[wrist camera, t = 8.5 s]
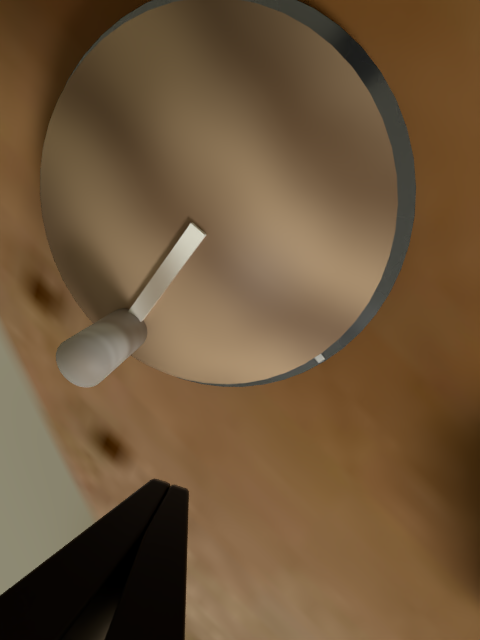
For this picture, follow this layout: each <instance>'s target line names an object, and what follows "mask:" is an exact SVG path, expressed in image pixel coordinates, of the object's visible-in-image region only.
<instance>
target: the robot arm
mask: <svg viewBox="0 0 480 640" xmlns="http://www.w3.org/2000/svg"><path fill="white" fill-rule="evenodd" d="M188 502H189V491H188V489H186V488H183V487H180V486H177V485H171V486H170V484H169V483H168V482H165V481H162V480H159V479H152V480H150V481H149V482H148V483H146V484H145V485H144V486H142V487H141V488H140V489H139V490H137V491H136V492H135V493H133V494H132V495H131V496H129V497H128V498H127V499H125V500H124V501H123V502H122V503H120V504H119V505H118V506H116V507H115V508H114V509H112V510H111V511H110V512H109V513H107V514H106V515H105V516H103V517H102V518H101V519H99V520H98V521H97V522H95V523H94V524H93V525H92V526H91V527H89V528H88V529H86V530H85V531H84V532H82V533H81V534H80V535H78V536H77V537H76V538H75V539H73V540H72V541H71V542H69V543H68V544H67V545H65V546H64V547H63V548H62V549H60V550H59V551H58V552H56V553H55V554H54V555H52V556H51V557H50V558H49V559H47V560H46V561H45V562H43V563H42V564H41V565H39V566H38V567H37V568H35V569H34V570H33V571H32V572H30V573H29V574H28V575H27V576H25V577H24V578H23V579H21V580H20V581H18V582H17V583H16V584H15V585H13V586H12V587H11V588H9V589H8V590H7V591H5V592H4V593H3V594H2V595H0V640H185V609H186V573H187V538H188Z"/></svg>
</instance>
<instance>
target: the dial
mask: <svg viewBox="0 0 480 640" xmlns="http://www.w3.org/2000/svg"><path fill="white" fill-rule="evenodd" d="M40 198H41V208H42V217H43V222H44V226H45V231H46V236H47V240H48V243H49V246H50V249H51V252H52V255H53V258H54V261H55V263H56V265H57V268H58V270H59V272H60V274H61V276H62V279H63V281H64V282H65V284H66V286H67V288H68V289H69V291H70V293H71V294H72V296H73V298H74V299H75V301H76V302H77V303H78V305H79V306H80V308H81V309H82V310H83V312H84V313H85V314H86V316H87V317H88V318H89V319H90V320H91V321H92V322H93V323H94V324H92V325H90V326H89V327H87V328H85V329H84V330H82V331H80V332H79V333H77V334H76V335H74V336H72V337H71V338H69V339H67V340H66V341H64V342H63V343H61V344H60V346H59V347H58V349H57V353H56V361H57V365H58V368H59V370H60V371H61V373H62V374H63V376H64V377H65V378H66V379H67V380H69V381H70V382H71V383H73V384H75V385H77V386H81V387H93V386H95V385H97V384H99V383H100V382H101V381H102V380H103V379H104V378H105V377H107V376H108V375H109V374H110V373H111V372H112V371H113V370H114V369H115V368H117V367H118V366H119V365H120V364H121V363H122V362H123V361H124V360H126V359H127V358H128V357H129V356H130V355H131V356H132V357H134V358H136V359H137V360H139V361H141V362H143V363H145V364H146V365H148V366H150V367H152V368H155V369H157V370H159V371H162V372H164V373H166V374H169V375H173V376H176V377H179V378H183V379H186V380H191V381H197V382H202V383H213V384H238V383H248V382H254V381H259V380H264V379H268V378H271V377H274V376H277V375H280V374H284V373H286V372H288V371H290V370H293V369H295V368H297V367H299V366H301V365H303V364H305V363H307V362H308V361H310V360H311V359H313V358H315V357H316V356H318V355H319V354H321V353H323V352H324V351H325V350H326V349H327V348H329V347H330V346H331V345H332V344H333V343H335V342H336V341H337V340H338V339H339V338H340V337H341V336H342V335H343V334H344V333H345V332H346V331H347V330H348V329H349V328H350V327H351V325H352V324H353V323H354V322H355V321H356V320H357V318H358V317H359V315H360V314H361V313H362V311H363V310H364V308H365V307H366V306H367V304H368V303H369V301H370V299H371V297H372V295H373V294H374V292H375V290H376V288H377V286H378V284H379V282H380V280H381V278H382V275H383V272H384V270H385V267H386V264H387V262H388V259H389V256H390V252H391V247H392V243H393V239H394V234H395V229H396V218H397V208H398V194H397V174H396V168H395V163H394V157H393V151H392V146H391V143H390V140H389V137H388V134H387V131H386V128H385V125H384V122H383V119H382V117H381V114H380V112H379V110H378V108H377V106H376V104H375V102H374V100H373V98H372V96H371V94H370V92H369V91H368V89H367V88H366V86H365V85H364V83H363V82H362V80H361V79H360V77H359V76H358V74H357V73H356V72H355V70H354V69H353V67H352V66H351V65H350V64H349V63H348V62H347V61H346V60H345V59H344V58H343V56H342V55H341V54H340V53H339V52H338V51H337V50H336V49H335V48H334V47H333V46H332V45H331V44H330V43H328V42H327V41H326V40H325V39H323V38H322V37H321V36H320V35H318V34H317V33H316V32H314V31H313V30H312V29H311V28H309V27H308V26H306V25H304V24H302V23H301V22H299V21H297V20H295V19H293V18H292V17H290V16H288V15H286V14H284V13H282V12H280V11H277V10H274V9H271V8H268V7H266V6H263V5H260V4H257V3H253V2H247V1H242V0H183V1H176V2H172V3H169V4H166V5H163V6H160V7H157V8H154V9H151V10H148V11H146V12H144V13H142V14H140V15H138V16H136V17H135V18H133V19H131V20H129V21H127V22H125V23H124V24H122V25H121V26H120V27H118V28H117V29H115V30H114V31H113V32H111V33H110V34H109V35H107V36H106V37H105V38H103V39H102V40H101V41H100V42H99V43H98V44H97V45H96V47H95V48H94V49H93V50H92V51H91V52H90V53H89V54H88V55H87V56H86V57H85V58H84V59H83V61H82V62H81V63H80V65H79V66H78V67H77V69H76V70H75V71H74V73H73V74H72V76H71V77H70V79H69V80H68V82H67V84H66V86H65V88H64V90H63V91H62V93H61V95H60V97H59V99H58V101H57V104H56V106H55V109H54V111H53V114H52V117H51V119H50V122H49V125H48V129H47V133H46V137H45V141H44V145H43V152H42V160H41V168H40Z"/></svg>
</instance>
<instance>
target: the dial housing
mask: <svg viewBox="0 0 480 640" xmlns="http://www.w3.org/2000/svg"><path fill="white" fill-rule="evenodd" d="M176 1H183V0H152V1H150V2H148V3H145V4H144V5H142V6H140V7H139V8H137V9H136V10H134V11H132V12H131V13H129V14H127V15H126V16H124V17H123V18H121V19H120V20H119V21H118V22H117V23H115V24H114V25H113V26H112V27H111V28H110V29H108V30H107V31H106V32H105V33H104V34H103V35H101V36H100V38H99V39H98V40H97V41H96V42H95V43H94V44H93V46H92V47H91V48H90V49H89V50H88V51H87V52H86V54H85V55H84V56H83V57H82V59H81V61H80V62H79V64H78V65H77V67H78V66H79V65H80V63H81V62H82V61H83V59H84V58H85V57H86V56H87V55H88V54H89V53H90V52H91V51H92V50H93V49H94V48H95V47H96V45H97V44H98V43H99V42H100V41H101V40H102V39H103V38H105V37H106V36H107V35H109V34H110V33H111V32H113V31H114V30H115V29H117V28H118V27H120V26H121V25H122V24H124V23H125V22H127V21H129V20H131V19H133V18H135V17H136V16H138V15H140V14H142V13H144V12H146V11H148V10H151V9H154V8H157V7H160V6H163V5H166V4H169V3H172V2H176ZM242 1H247V2H253V3H257V4H260V5H263V6H266V7H268V8H271V9H274V10H277V11H280V12H282V13H284V14H286V15H288V16H290V17H292V18H293V19H295V20H297V21H299V22H301V23H302V24H304V25H306V26H308V27H309V28H311V29H312V30H313V31H314V32H316V33H317V34H318V35H320V36H321V37H322V38H323V39H325V40H326V41H327V42H328V43H330V44H331V45H332V46H333V47H334V48H335V49H336V50H337V51H338V52H339V53H340V54H341V55H342V56H343V58H344V59H345V60H346V61H347V62H348V63H349V64H350V65H351V66H352V67H353V69H354V70H355V72H356V73H357V74H358V76H359V77H360V79H361V80H362V82H363V83H364V85H365V86H366V88H367V89H368V91H369V92H370V94H371V96H372V98H373V100H374V102H375V104H376V106H377V108H378V110H379V112H380V114H381V117H382V119H383V122H384V125H385V128H386V131H387V134H388V137H389V140H390V143H391V146H392V151H393V157H394V163H395V168H396V174H397V194H398V208H397V218H396V229H395V234H394V239H393V243H392V247H391V252H390V256H389V259H388V262H387V264H386V267H385V270H384V272H383V275H382V278H381V280H380V282H379V284H378V286H377V288H376V290H375V292H374V294H373V295H372V297H371V299H370V301H369V303H368V304H367V306H366V307H365V308H364V310H363V311H362V313H361V314H360V315H359V317H358V318H357V320H356V321H355V322H354V323H353V324H352V325H351V327H350V328H349V329H348V330H347V331H346V332H345V333H344V334H343V335H342V336H341V337H340V338H339V339H338V340H337V341H336V342H335V343H333V344H332V345H331V346H330V347H329V348H327V349H326V350H325V351H324V352H323V353H321V354H319V355H318V356H316V357H315V358H313V359H311V360H310V361H308V362H307V363H305V364H303V365H301V366H299V367H297V368H295V369H293V370H290V371H288V372H286V373H284V374H280V375H277V376H274V377H271V378H268V379H264V380H259V381H254V382H248V383H238V384H213V383H202V382H197V381H192V382H196V383H200V384H207V385H215V386H226V387H244V386H253V385H262V384H267V383H271V382H275V381H280V380H284V379H286V378H289V377H292V376H295V375H297V374H300V373H303V372H305V371H307V370H309V369H311V368H313V367H314V366H316V365H318V364H320V363H322V362H324V361H325V360H327V359H328V358H330V357H331V356H333V355H334V354H335V353H337V352H338V351H340V350H341V349H343V348H344V347H345V346H346V345H347V344H348V343H349V342H350V341H351V340H353V339H354V338H355V337H356V336H357V335H358V334H359V333H360V332H361V331H362V330H363V329H364V327H365V326H366V325H367V324H368V323H369V322H370V320H371V319H372V318H373V317H374V316H375V315H376V313H377V311H378V310H379V308H380V307H381V305H382V304H383V302H384V301H385V299H386V298H387V296H388V295H389V293H390V291H391V289H392V287H393V285H394V283H395V280H396V278H397V276H398V274H399V272H400V270H401V267H402V264H403V261H404V258H405V255H406V252H407V249H408V246H409V242H410V237H411V231H412V226H413V221H414V214H415V195H416V183H415V171H414V159H413V154H412V149H411V145H410V140H409V136H408V131H407V127H406V125H405V122H404V119H403V117H402V114H401V111H400V109H399V106H398V104H397V101H396V99H395V97H394V95H393V93H392V91H391V90H390V88H389V86H388V84H387V82H386V81H385V79H384V77H383V75H382V73H381V72H380V70H379V69H378V68H377V66H376V65H375V64H374V63H373V61H372V60H371V59H370V57H369V56H368V55H367V53H366V52H365V51H364V49H363V48H362V47H361V46H360V45H359V44H358V43H357V42H356V41H355V40H354V39H353V38H352V37H350V36H349V35H348V34H347V33H346V32H345V31H344V30H343V29H342V28H341V27H340V26H339V25H337V24H336V23H334V22H333V21H332V20H330V19H329V18H327V17H326V16H324V15H323V14H321V13H320V12H319V11H317V10H316V9H314V8H312V7H310V6H308V5H306V4H304V3H302V2H299V1H297V0H242ZM77 67H76V68H75V70H76V69H77ZM75 70H74V71H75ZM74 71H73V73H74ZM73 73H72V74H73ZM72 74H71V76H72ZM71 76H70V77H71ZM70 77H69V79H70ZM69 79H68V80H69ZM67 82H68V81H67ZM66 84H67V83H66ZM65 86H66V85H65ZM175 377H176V376H175ZM178 378H179V377H178ZM181 379H183V378H181ZM184 380H186V379H184ZM188 381H191V380H188Z"/></svg>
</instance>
